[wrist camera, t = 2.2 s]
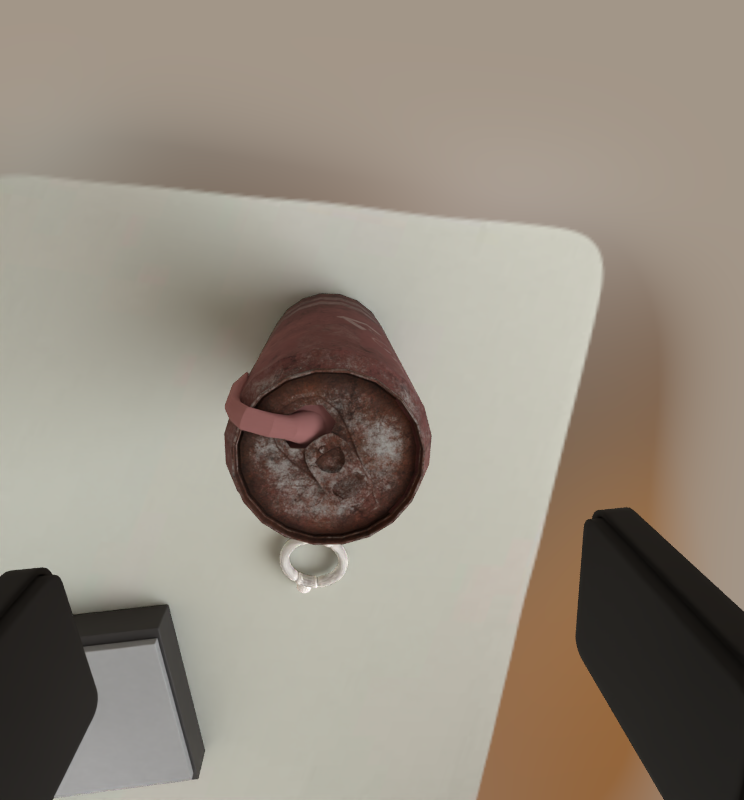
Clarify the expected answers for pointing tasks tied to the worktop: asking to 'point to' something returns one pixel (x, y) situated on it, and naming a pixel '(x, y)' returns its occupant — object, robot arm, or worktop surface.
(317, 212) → the worktop surface
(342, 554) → the key
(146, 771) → the scale
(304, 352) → the can
